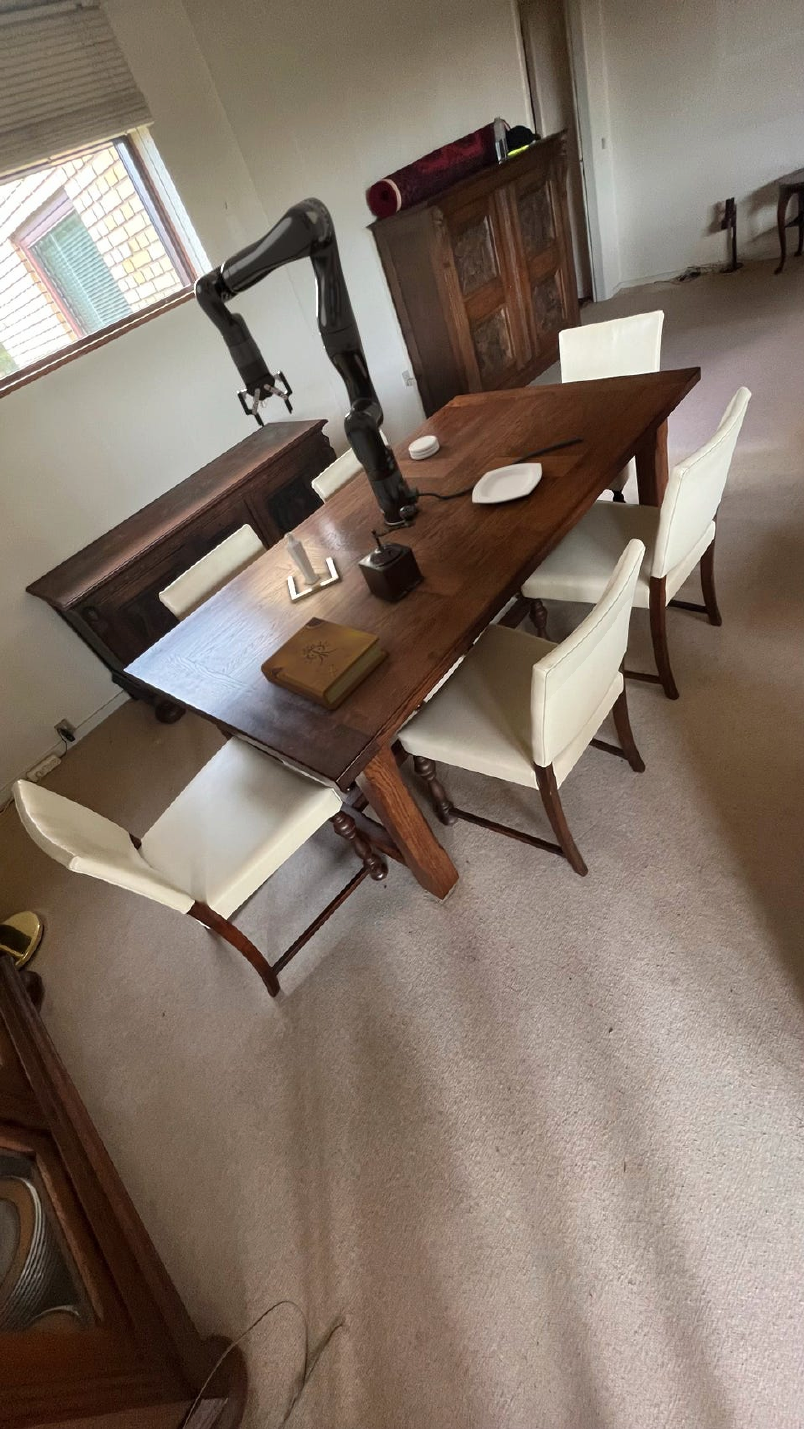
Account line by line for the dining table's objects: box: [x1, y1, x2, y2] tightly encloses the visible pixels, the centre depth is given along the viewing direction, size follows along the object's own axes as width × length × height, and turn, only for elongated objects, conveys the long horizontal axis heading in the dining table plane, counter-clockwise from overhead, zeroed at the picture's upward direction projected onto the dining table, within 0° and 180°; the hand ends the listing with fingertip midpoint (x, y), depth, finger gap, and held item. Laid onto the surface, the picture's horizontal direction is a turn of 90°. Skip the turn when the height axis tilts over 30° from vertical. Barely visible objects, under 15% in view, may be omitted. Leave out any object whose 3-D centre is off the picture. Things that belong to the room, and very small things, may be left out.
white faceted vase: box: [284, 531, 320, 585], centre depth 171 cm, size 5×4×15 cm
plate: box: [471, 462, 543, 504], centre depth 172 cm, size 19×19×2 cm
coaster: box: [408, 435, 440, 461], centre depth 209 cm, size 10×10×4 cm
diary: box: [260, 616, 388, 710], centre depth 142 cm, size 23×19×6 cm
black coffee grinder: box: [357, 506, 424, 603], centre depth 153 cm, size 16×11×18 cm
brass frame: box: [286, 556, 341, 604], centre depth 176 cm, size 13×14×1 cm
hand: (277, 419), depth 176 cm, fingers open, 8 cm apart
